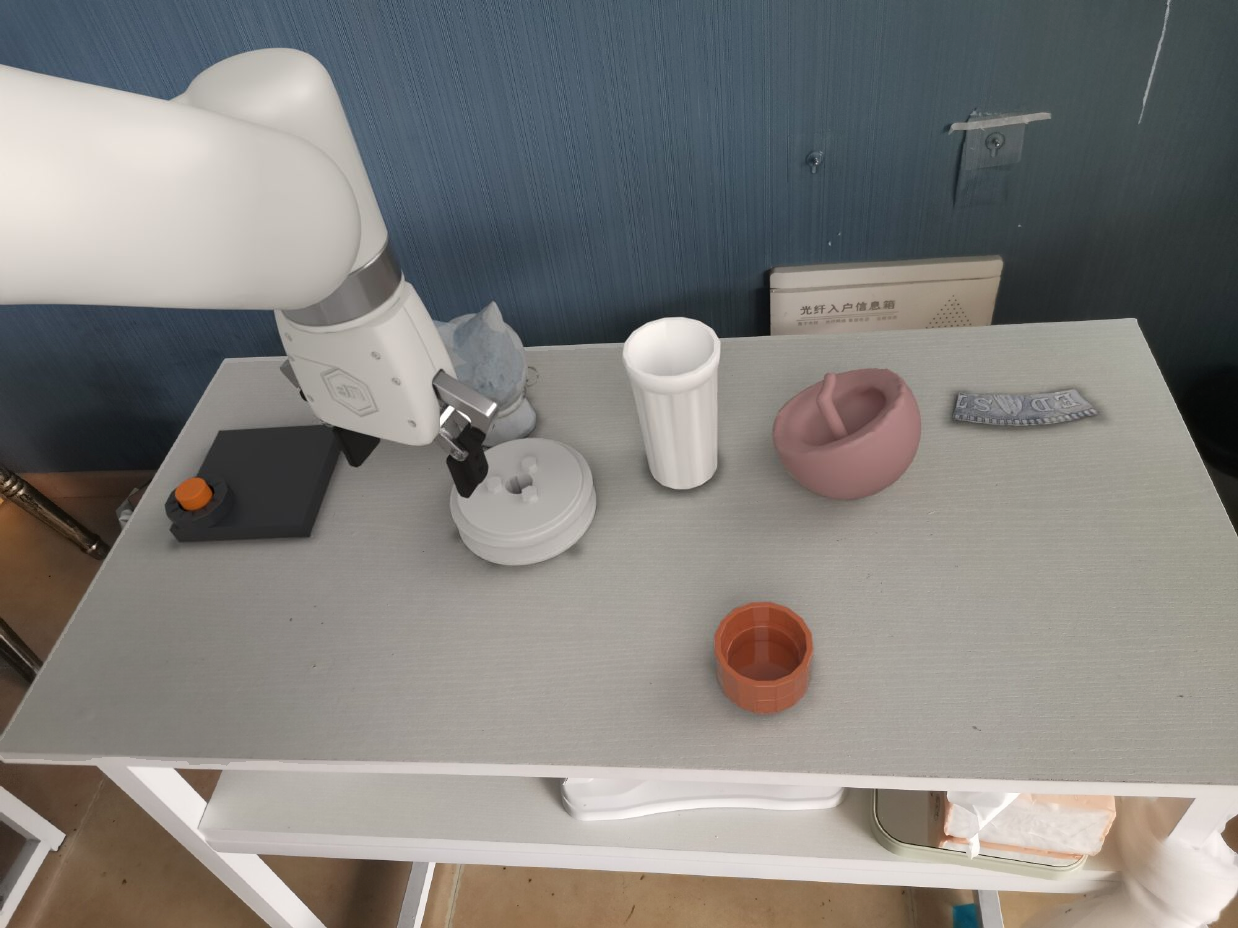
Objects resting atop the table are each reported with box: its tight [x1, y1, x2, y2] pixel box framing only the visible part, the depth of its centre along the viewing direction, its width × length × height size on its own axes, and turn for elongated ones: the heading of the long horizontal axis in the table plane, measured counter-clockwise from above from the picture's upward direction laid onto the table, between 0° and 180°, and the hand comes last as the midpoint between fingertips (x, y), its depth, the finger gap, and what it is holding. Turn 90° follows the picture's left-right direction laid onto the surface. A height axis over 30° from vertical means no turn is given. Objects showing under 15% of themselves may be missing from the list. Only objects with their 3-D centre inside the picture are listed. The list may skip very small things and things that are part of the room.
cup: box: [621, 316, 722, 490], centre depth 76 cm, size 8×8×14 cm
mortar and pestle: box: [772, 367, 922, 501], centre depth 74 cm, size 12×12×12 cm
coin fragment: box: [952, 388, 1101, 427], centre depth 81 cm, size 13×5×1 cm, turn 85°
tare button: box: [175, 477, 212, 511], centre depth 82 cm, size 3×3×2 cm
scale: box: [164, 423, 342, 543], centre depth 85 cm, size 13×13×4 cm
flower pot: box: [713, 601, 814, 714], centre depth 65 cm, size 7×7×4 cm
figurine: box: [432, 300, 540, 448], centre depth 84 cm, size 10×9×15 cm
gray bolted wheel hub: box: [449, 437, 597, 566], centre depth 78 cm, size 13×13×5 cm
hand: (419, 468), depth 65 cm, fingers open, 9 cm apart
